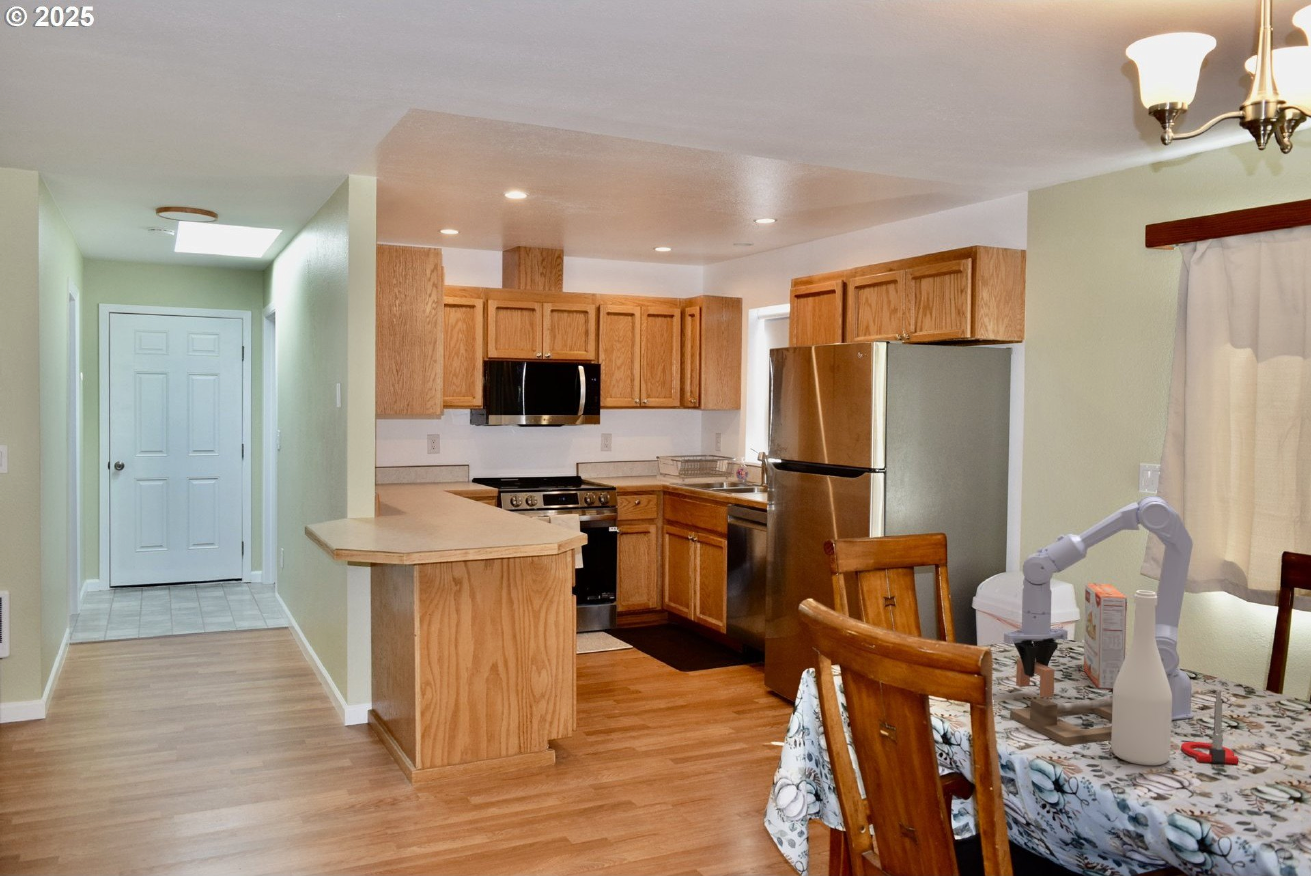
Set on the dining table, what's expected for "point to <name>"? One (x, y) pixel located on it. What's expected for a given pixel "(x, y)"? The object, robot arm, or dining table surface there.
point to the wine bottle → (1142, 694)
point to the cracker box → (1104, 633)
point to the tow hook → (1215, 749)
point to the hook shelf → (1047, 723)
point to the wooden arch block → (1045, 678)
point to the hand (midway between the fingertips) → (1034, 674)
